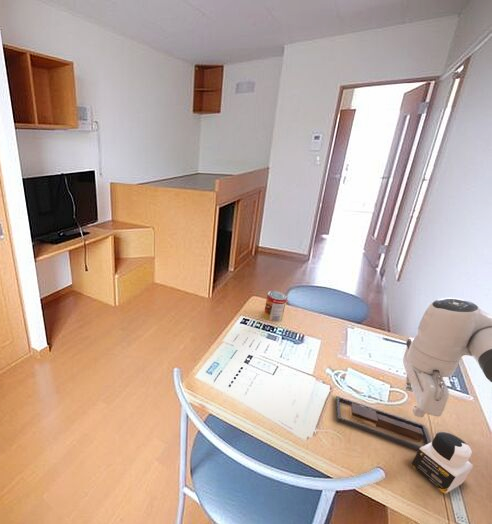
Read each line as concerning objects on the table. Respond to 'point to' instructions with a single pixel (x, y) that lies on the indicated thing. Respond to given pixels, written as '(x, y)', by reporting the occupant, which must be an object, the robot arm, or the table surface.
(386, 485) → the table surface
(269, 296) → the canned food
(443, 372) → the robot arm
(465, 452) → the medicine bottle
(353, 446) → the table surface
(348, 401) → the empty picture frame
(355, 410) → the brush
